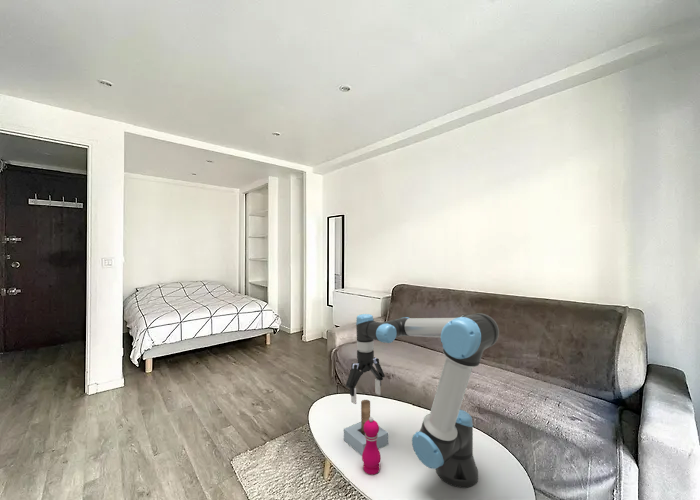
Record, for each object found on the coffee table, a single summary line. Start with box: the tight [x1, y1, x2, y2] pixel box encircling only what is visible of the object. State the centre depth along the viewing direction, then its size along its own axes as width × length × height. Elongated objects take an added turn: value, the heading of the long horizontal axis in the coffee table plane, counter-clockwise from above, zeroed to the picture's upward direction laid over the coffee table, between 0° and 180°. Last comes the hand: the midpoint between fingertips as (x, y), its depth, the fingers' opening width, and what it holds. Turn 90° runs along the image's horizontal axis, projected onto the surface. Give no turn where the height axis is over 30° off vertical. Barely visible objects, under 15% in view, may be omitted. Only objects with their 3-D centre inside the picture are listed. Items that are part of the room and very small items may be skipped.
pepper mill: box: [361, 416, 382, 476], centre depth 118 cm, size 7×7×20 cm
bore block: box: [343, 421, 389, 456], centre depth 135 cm, size 14×14×5 cm
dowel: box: [360, 399, 371, 436], centre depth 135 cm, size 4×4×17 cm
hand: (366, 398), depth 135 cm, fingers open, 13 cm apart
